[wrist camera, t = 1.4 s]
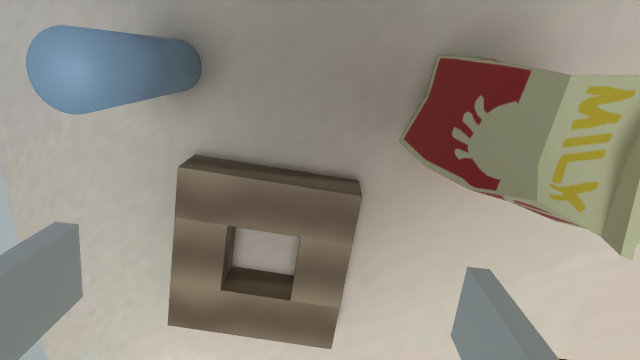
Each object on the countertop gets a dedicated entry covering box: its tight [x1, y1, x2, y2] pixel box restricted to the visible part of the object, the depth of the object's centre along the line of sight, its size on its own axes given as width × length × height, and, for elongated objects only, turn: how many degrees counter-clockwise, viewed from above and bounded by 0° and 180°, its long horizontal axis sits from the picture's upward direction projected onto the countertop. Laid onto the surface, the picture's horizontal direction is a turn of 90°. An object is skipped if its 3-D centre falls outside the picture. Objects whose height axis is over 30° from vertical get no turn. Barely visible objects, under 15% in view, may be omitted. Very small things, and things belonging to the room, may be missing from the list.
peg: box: [26, 25, 201, 114], centre depth 26 cm, size 4×4×14 cm
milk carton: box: [399, 55, 640, 260], centre depth 24 cm, size 9×9×20 cm
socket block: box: [168, 155, 362, 349], centre depth 35 cm, size 14×14×4 cm
